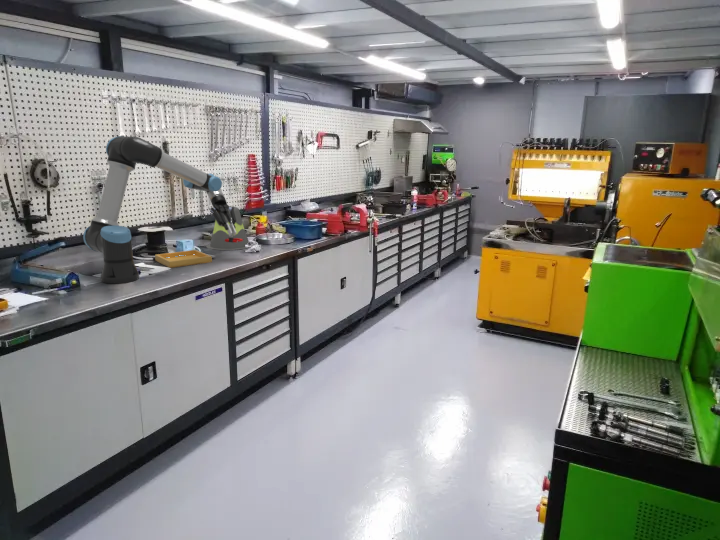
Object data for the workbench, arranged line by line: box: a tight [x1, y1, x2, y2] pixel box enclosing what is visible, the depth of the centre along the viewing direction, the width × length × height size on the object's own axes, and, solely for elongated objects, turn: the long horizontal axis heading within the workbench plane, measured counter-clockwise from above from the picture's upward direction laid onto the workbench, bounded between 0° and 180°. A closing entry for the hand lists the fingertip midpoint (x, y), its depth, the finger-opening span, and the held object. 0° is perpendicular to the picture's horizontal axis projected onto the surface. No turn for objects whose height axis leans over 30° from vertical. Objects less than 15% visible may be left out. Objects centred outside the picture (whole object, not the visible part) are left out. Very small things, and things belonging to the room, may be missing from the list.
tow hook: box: [225, 218, 243, 243], centre depth 251 cm, size 8×13×9 cm
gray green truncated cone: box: [205, 205, 250, 251], centre depth 290 cm, size 28×28×24 cm
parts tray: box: [154, 249, 213, 269], centre depth 249 cm, size 22×20×3 cm
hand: (232, 234), depth 246 cm, fingers closed on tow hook, 2 cm apart
